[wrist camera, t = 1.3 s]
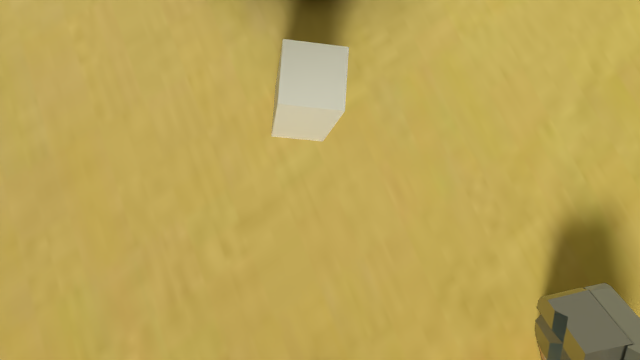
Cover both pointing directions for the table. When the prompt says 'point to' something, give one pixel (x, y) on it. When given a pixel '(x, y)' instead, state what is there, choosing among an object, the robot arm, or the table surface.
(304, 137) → the off-white block
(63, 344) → the table surface
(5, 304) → the table surface
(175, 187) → the table surface
